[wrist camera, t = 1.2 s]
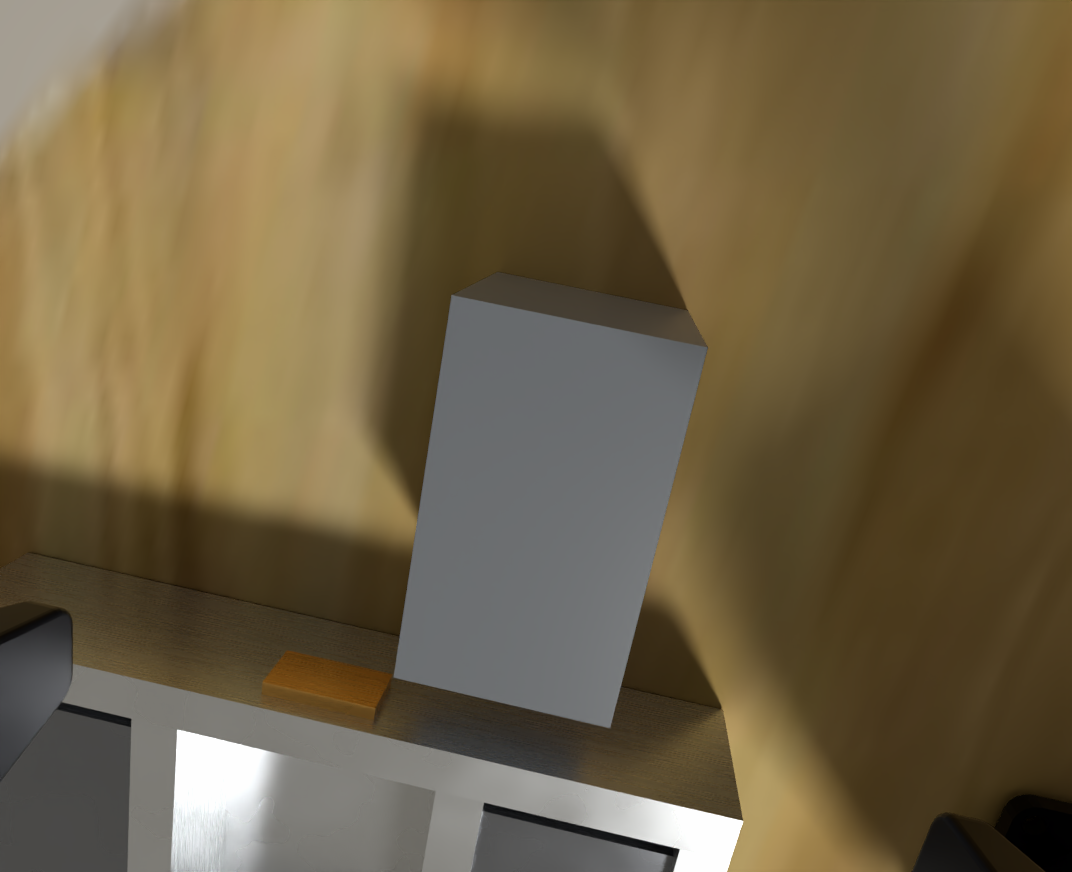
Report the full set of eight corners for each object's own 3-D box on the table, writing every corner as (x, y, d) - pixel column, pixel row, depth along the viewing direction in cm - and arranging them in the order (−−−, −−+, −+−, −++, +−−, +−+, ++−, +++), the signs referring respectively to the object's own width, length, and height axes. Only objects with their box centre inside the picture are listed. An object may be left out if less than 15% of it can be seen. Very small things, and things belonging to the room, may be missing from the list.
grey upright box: (687, 309, 16) (707, 347, 12) (614, 604, 18) (609, 728, 14) (498, 271, 16) (451, 295, 12) (448, 567, 18) (393, 677, 14)
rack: (725, 699, 18) (746, 809, 15) (628, 1025, 22) (627, 1175, 18) (27, 541, 19) (-98, 611, 16) (34, 875, 23) (-69, 991, 19)
